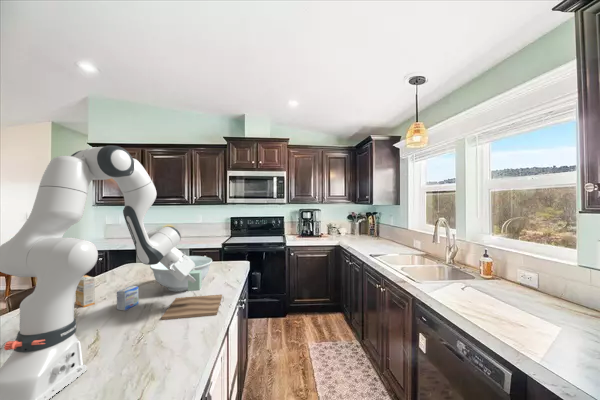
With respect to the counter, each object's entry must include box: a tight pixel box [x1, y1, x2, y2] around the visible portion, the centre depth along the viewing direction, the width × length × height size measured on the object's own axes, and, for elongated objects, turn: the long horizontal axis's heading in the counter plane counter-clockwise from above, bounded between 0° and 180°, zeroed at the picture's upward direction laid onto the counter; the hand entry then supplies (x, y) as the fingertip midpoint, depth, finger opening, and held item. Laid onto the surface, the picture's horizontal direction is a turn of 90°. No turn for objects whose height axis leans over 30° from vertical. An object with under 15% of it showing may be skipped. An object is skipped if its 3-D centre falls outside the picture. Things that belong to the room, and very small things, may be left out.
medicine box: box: [116, 285, 140, 311], centre depth 122 cm, size 8×4×9 cm, turn 168°
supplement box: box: [75, 274, 96, 308], centre depth 125 cm, size 8×5×13 cm, turn 62°
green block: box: [187, 270, 203, 292], centre depth 121 cm, size 5×5×8 cm
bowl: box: [149, 255, 213, 292], centre depth 150 cm, size 32×32×15 cm
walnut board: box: [161, 294, 223, 321], centre depth 121 cm, size 22×22×1 cm
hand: (196, 279), depth 121 cm, fingers closed on green block, 5 cm apart
